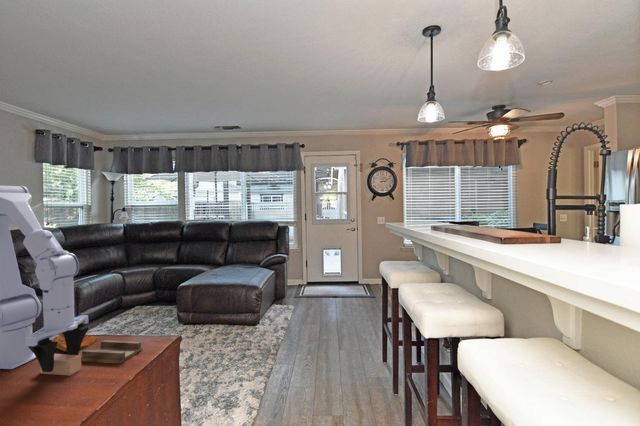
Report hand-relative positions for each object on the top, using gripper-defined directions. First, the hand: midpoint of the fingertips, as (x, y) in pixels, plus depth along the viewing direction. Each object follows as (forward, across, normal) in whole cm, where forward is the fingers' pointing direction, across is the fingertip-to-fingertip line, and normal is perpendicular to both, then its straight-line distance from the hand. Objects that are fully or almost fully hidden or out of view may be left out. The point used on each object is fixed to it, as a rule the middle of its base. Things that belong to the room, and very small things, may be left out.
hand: (60, 364), depth 79 cm
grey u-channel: (+2, +9, -6) cm, 11 cm away
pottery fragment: (+2, +13, +10) cm, 17 cm away
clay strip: (+2, 0, 0) cm, 2 cm away
